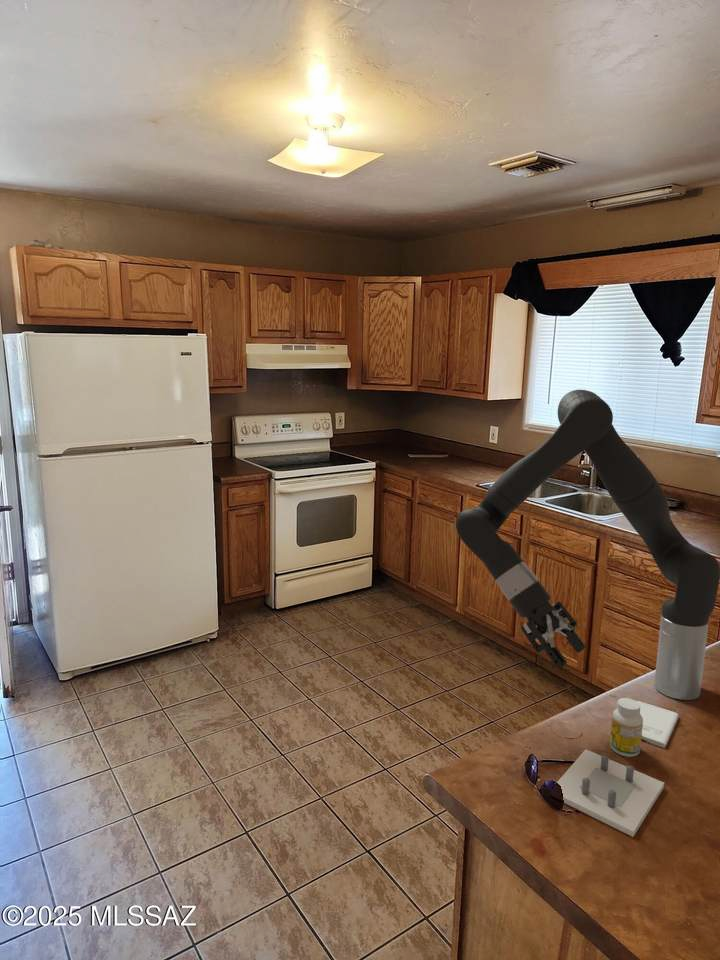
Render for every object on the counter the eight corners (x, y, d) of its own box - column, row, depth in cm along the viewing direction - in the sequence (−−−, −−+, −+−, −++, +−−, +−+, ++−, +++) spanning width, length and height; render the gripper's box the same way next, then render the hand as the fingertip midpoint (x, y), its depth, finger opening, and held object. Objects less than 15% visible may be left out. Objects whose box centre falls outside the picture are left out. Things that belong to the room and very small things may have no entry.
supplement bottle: (640, 760, 117) (645, 714, 115) (609, 754, 118) (613, 708, 116) (639, 743, 121) (643, 699, 119) (609, 737, 123) (613, 693, 121)
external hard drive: (678, 720, 130) (664, 750, 120) (636, 707, 135) (620, 735, 125) (678, 713, 130) (665, 743, 120) (636, 700, 134) (620, 728, 125)
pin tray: (585, 753, 119) (586, 737, 118) (663, 787, 109) (665, 770, 109) (549, 795, 108) (550, 777, 107) (633, 837, 98) (635, 817, 98)
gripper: (518, 590, 122) (571, 663, 117) (551, 570, 132) (601, 637, 127) (493, 608, 127) (543, 679, 121) (526, 588, 137) (574, 653, 132)
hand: (572, 658), depth 124 cm, fingers open, 8 cm apart
